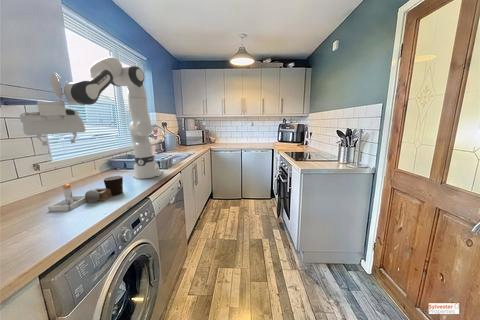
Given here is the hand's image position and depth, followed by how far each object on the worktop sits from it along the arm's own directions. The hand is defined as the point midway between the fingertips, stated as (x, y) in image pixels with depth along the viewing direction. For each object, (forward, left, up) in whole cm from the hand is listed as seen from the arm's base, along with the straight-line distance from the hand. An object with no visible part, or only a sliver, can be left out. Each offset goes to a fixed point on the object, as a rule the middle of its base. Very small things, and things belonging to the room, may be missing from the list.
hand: (59, 144), depth 92 cm
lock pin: (+1, 0, -28) cm, 28 cm away
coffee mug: (-14, +13, -30) cm, 35 cm away
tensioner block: (-6, +9, -29) cm, 31 cm away
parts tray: (+1, 0, -29) cm, 29 cm away
